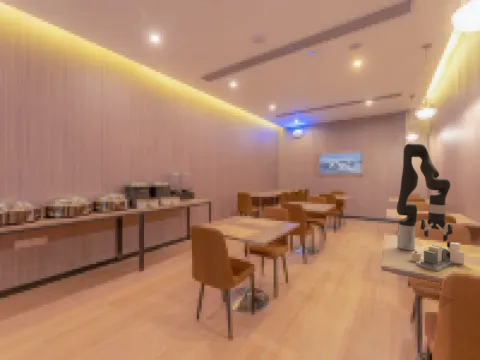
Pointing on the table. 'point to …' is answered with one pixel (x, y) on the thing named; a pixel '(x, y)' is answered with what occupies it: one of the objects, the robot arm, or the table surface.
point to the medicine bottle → (455, 252)
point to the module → (437, 249)
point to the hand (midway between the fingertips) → (435, 238)
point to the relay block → (415, 256)
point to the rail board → (435, 260)
